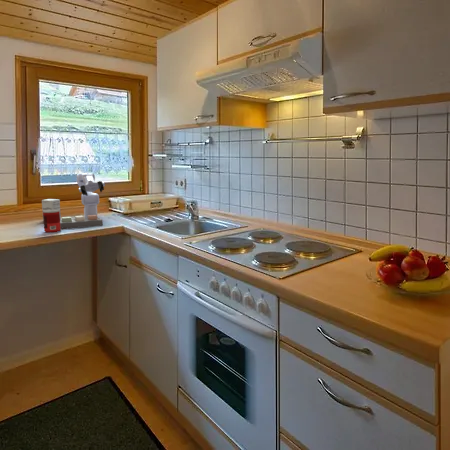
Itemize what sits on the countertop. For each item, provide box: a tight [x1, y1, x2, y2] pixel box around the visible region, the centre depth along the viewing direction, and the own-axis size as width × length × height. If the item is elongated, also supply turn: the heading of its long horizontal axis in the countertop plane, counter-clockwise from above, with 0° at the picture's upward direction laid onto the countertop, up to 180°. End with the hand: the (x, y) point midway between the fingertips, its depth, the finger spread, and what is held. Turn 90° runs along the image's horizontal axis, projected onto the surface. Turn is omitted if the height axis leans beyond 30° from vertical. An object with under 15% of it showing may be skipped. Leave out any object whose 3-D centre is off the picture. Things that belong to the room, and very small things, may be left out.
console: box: [60, 217, 104, 230], centre depth 222 cm, size 12×22×3 cm, turn 122°
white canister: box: [41, 198, 62, 222], centre depth 237 cm, size 7×7×13 cm
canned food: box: [42, 209, 61, 234], centre depth 204 cm, size 8×8×11 cm
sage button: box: [61, 216, 73, 222], centre depth 218 cm, size 4×4×3 cm
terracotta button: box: [88, 214, 98, 220], centre depth 226 cm, size 4×4×3 cm
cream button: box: [74, 215, 85, 221], centre depth 222 cm, size 4×4×3 cm
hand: (93, 192), depth 220 cm, fingers open, 7 cm apart
